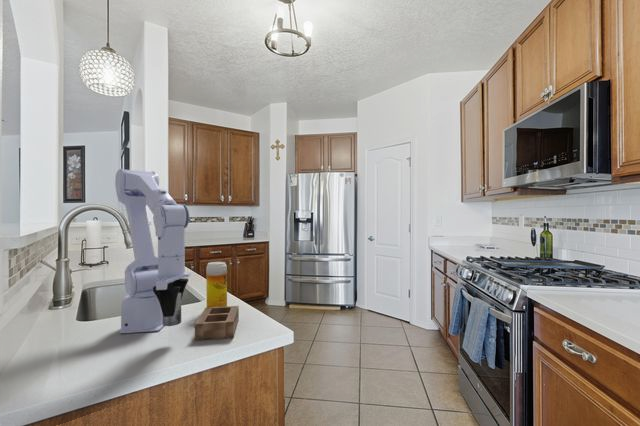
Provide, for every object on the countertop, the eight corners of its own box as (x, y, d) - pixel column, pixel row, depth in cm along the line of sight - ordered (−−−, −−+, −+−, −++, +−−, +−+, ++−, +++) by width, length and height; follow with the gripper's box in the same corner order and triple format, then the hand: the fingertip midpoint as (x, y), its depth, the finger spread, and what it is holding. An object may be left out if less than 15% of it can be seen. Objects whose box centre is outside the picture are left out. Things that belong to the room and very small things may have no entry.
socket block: (194, 340, 74) (194, 324, 74) (205, 321, 86) (205, 307, 86) (233, 337, 75) (233, 321, 75) (238, 319, 88) (238, 305, 88)
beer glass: (223, 313, 93) (223, 264, 93) (203, 313, 93) (203, 264, 93) (229, 307, 99) (229, 261, 99) (211, 307, 99) (210, 261, 99)
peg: (159, 326, 70) (159, 296, 70) (165, 320, 74) (165, 291, 74) (178, 325, 71) (178, 295, 71) (183, 319, 75) (183, 291, 75)
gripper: (180, 259, 66) (181, 322, 66) (196, 251, 80) (196, 302, 80) (145, 260, 65) (145, 324, 65) (167, 251, 79) (167, 304, 79)
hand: (171, 312), depth 72 cm, fingers closed on peg, 4 cm apart
